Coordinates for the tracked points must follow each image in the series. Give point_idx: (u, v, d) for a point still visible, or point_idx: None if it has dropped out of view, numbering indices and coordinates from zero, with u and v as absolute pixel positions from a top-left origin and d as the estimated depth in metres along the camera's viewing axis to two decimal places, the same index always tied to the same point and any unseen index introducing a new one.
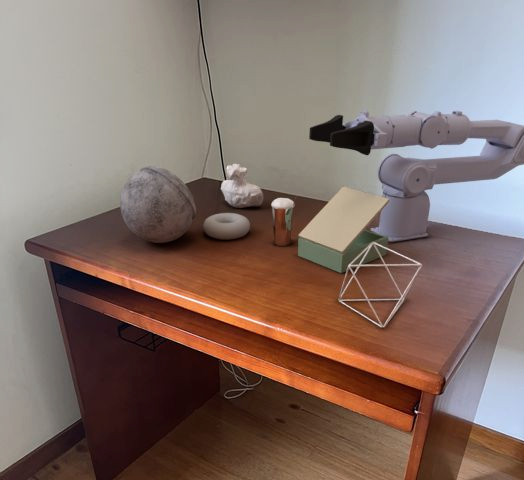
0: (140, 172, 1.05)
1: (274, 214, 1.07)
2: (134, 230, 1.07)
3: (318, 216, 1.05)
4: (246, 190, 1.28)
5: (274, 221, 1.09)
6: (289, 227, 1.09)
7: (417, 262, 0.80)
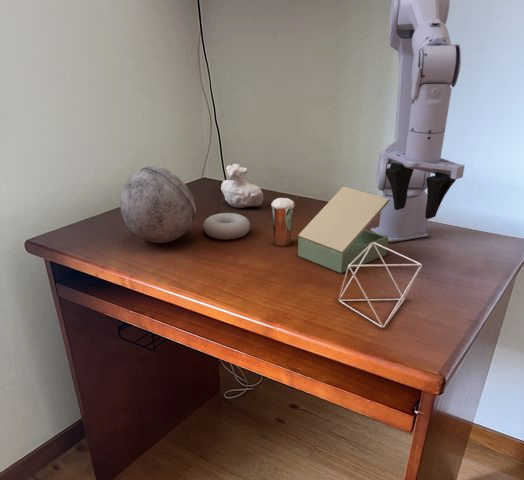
0: (140, 172, 1.05)
1: (274, 214, 1.07)
2: (134, 230, 1.07)
3: (318, 216, 1.05)
4: (246, 190, 1.28)
5: (274, 221, 1.09)
6: (289, 227, 1.09)
7: (417, 262, 0.80)
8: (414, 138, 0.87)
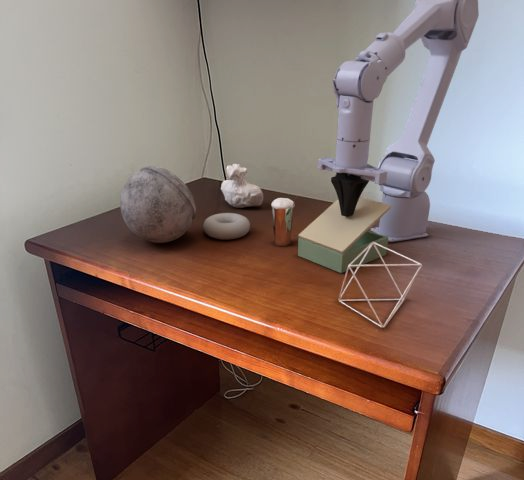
0: (140, 172, 1.05)
1: (274, 214, 1.07)
2: (134, 230, 1.07)
3: (319, 218, 1.05)
4: (246, 190, 1.28)
5: (274, 221, 1.09)
6: (289, 227, 1.09)
7: (417, 262, 0.80)
8: (341, 146, 0.94)
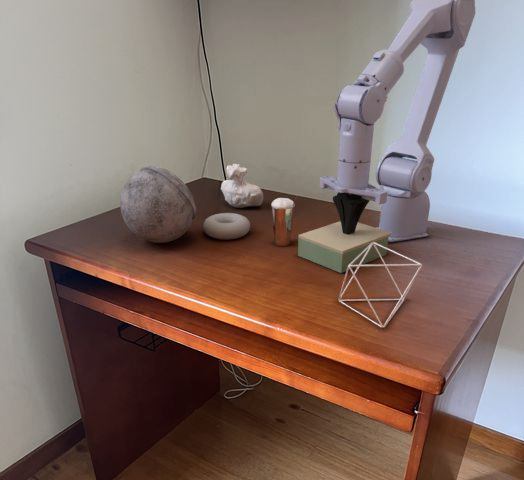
0: (140, 172, 1.05)
1: (274, 214, 1.07)
2: (134, 230, 1.07)
3: (320, 229, 1.07)
4: (246, 190, 1.28)
5: (274, 221, 1.09)
6: (289, 227, 1.09)
7: (417, 262, 0.80)
8: (343, 167, 0.97)
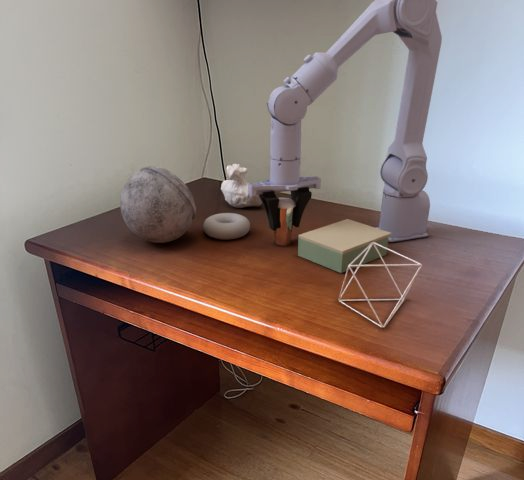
0: (140, 172, 1.05)
1: None
2: (134, 230, 1.07)
3: (320, 229, 1.07)
4: (246, 190, 1.28)
5: None
6: (290, 227, 1.09)
7: (417, 262, 0.80)
8: (290, 165, 1.01)
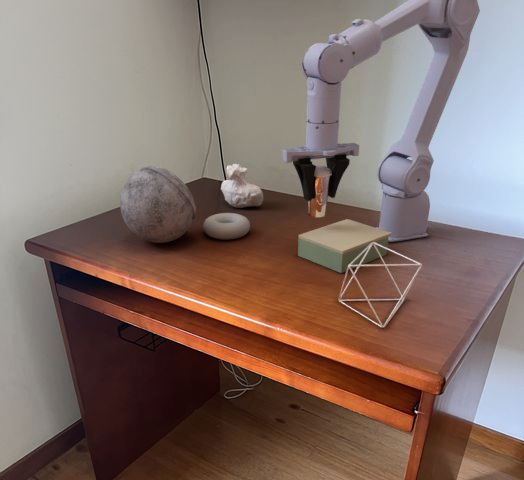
0: (140, 172, 1.05)
1: None
2: (134, 230, 1.07)
3: (320, 229, 1.07)
4: (246, 190, 1.28)
5: None
6: (325, 197, 1.02)
7: (417, 262, 0.80)
8: (328, 129, 0.94)
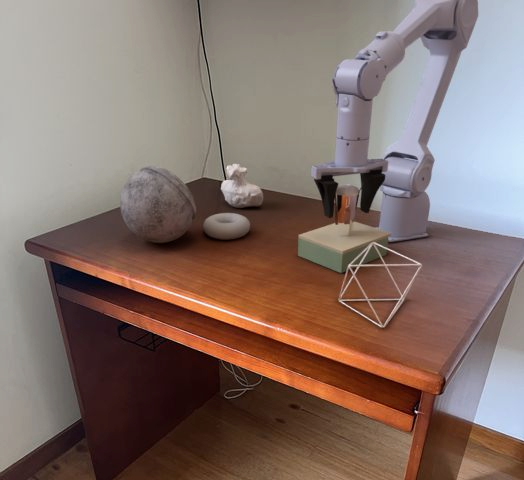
0: (140, 172, 1.05)
1: (338, 202, 1.00)
2: (134, 230, 1.07)
3: (320, 229, 1.07)
4: (246, 190, 1.28)
5: (337, 209, 1.01)
6: (353, 216, 1.01)
7: (417, 262, 0.80)
8: (359, 146, 0.93)
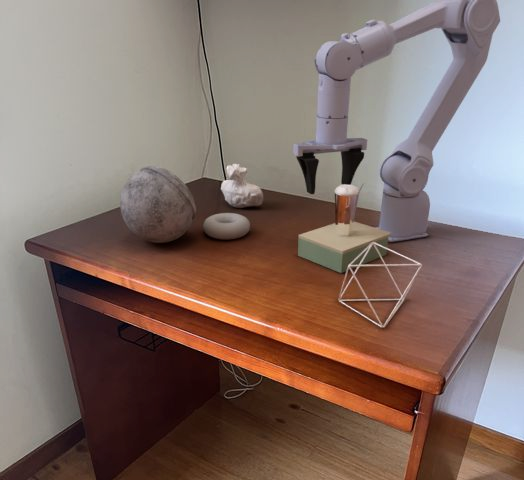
0: (140, 172, 1.05)
1: (338, 202, 1.00)
2: (134, 230, 1.07)
3: (320, 229, 1.07)
4: (246, 190, 1.28)
5: (337, 209, 1.01)
6: (353, 216, 1.01)
7: (417, 262, 0.80)
8: (338, 124, 0.98)
